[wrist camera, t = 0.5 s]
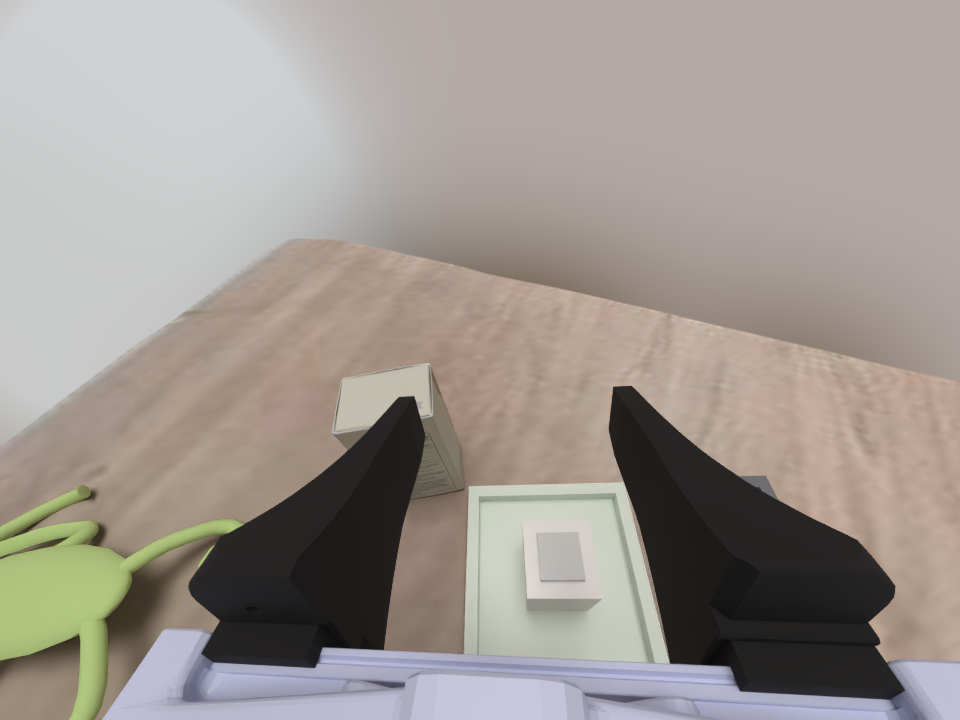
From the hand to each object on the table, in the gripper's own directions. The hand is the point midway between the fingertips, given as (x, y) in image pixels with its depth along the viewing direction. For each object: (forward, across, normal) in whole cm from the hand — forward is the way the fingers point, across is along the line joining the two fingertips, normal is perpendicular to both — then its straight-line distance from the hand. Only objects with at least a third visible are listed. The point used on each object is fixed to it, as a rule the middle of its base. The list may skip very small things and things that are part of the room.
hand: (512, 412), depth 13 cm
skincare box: (+10, +9, +16) cm, 21 cm away
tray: (+3, -2, +18) cm, 19 cm away
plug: (+3, -2, +18) cm, 18 cm away
